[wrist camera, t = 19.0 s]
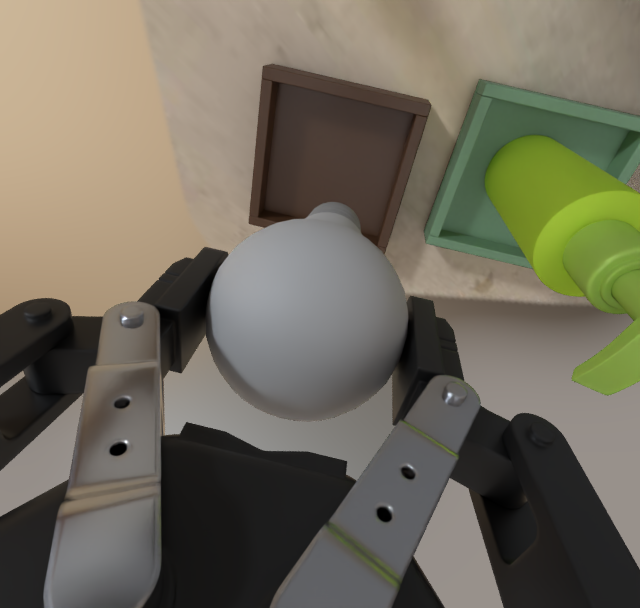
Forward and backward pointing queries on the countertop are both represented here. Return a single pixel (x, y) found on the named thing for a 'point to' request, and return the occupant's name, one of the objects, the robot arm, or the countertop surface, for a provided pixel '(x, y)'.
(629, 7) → the countertop surface
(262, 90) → the walnut tray
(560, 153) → the soap dispenser
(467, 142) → the green tray
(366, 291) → the lightbulb
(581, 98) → the countertop surface
